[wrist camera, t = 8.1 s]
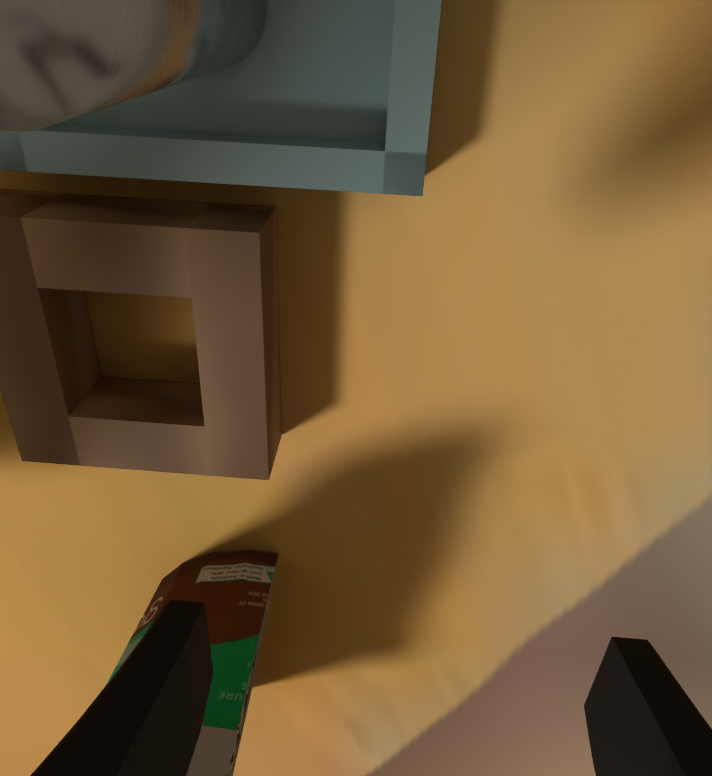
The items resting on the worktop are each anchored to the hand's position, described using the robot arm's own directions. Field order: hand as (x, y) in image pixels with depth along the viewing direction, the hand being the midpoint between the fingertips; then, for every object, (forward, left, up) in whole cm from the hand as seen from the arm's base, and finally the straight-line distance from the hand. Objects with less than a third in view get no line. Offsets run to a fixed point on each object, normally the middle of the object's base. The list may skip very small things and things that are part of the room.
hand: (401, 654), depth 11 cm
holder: (-8, +1, -10) cm, 13 cm away
